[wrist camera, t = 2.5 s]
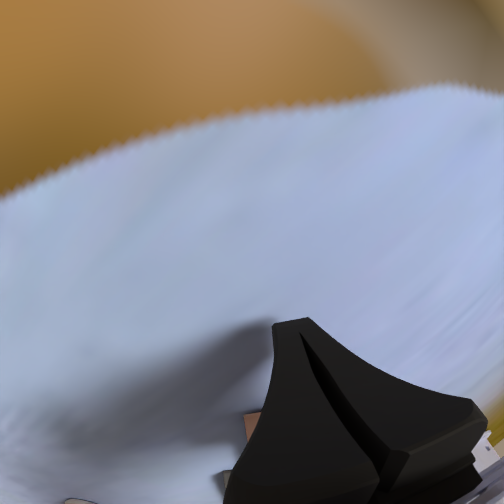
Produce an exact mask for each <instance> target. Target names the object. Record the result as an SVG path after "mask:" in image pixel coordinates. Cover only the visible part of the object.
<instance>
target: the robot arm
mask: <svg viewBox="0 0 504 504" xmlns="http://www.w3.org/2000/svg"><path fill="white" fill-rule="evenodd" d="M272 336H273V348H274V362H273V369H272V375H271V380H270V385H269V389H268V393H267V396H266V399H265V403H264V406H263V408H262V411H261V414H260V417H259V419H258V422H257V424H256V427H255V429H254V431H253V433H252V435H251V437H250V439H249V441H248V443H247V445H246V447H245V449H244V451H243V453H242V454H241V456H240V458H239V459H238V461H237V463H236V464H235V466H234V467H233V469H232V471H231V473H230V477H229V480H228V484H227V487H226V491H225V495H224V500H223V504H504V456H503V457H502V458H500V457H499V456H498V454H497V453H496V451H495V450H494V449H493V447H492V446H491V444H490V443H489V442H488V440H487V438H488V437H489V435H490V434H491V431H486V428H487V424H488V420H487V418H486V417H485V416H484V414H483V413H482V412H481V410H480V409H479V408H478V407H477V405H476V404H475V403H474V402H473V401H472V400H471V399H468V398H463V397H457V396H452V395H447V394H442V393H439V392H435V391H432V390H428V389H425V388H422V387H419V386H416V385H413V384H411V383H408V382H406V381H403V380H401V379H398V378H396V377H394V376H392V375H389V374H387V373H386V372H384V371H382V370H380V369H378V368H376V367H374V366H372V365H371V364H369V363H367V362H366V361H364V360H363V359H361V358H359V357H358V356H356V355H355V354H354V353H352V352H351V351H349V350H348V349H347V348H345V347H344V346H343V345H341V344H340V343H339V342H337V341H336V340H335V339H334V338H332V337H331V336H330V335H329V334H328V333H326V332H325V331H324V330H323V329H322V328H321V327H319V326H318V325H317V324H316V323H315V322H314V321H313V320H311V319H310V318H309V317H306V318H301V319H296V320H290V321H285V322H279V323H274V324H273V326H272ZM485 431H486V432H485Z"/></svg>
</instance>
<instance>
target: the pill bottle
mask: <svg viewBox="0 0 504 504" xmlns="http://www.w3.org/2000/svg"><path fill="white" fill-rule="evenodd" d="M65 504H95V503H92V502H88V501H84V500H79V499H69V500H67V501H66V502H65Z"/></svg>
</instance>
